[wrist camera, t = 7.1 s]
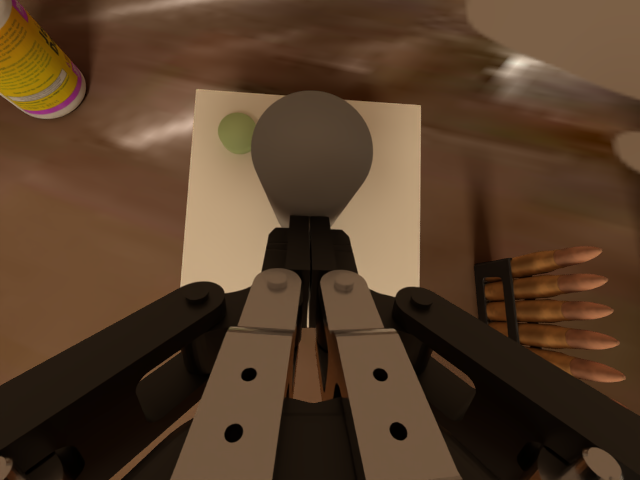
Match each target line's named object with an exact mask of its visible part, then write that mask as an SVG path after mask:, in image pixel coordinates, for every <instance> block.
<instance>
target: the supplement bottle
mask: <svg viewBox="0 0 640 480" xmlns="http://www.w3.org/2000/svg"><path fill="white" fill-rule="evenodd" d="M85 92H86V82H85V79H84V76H83V75H82V73H81V71H80V70H79V69H78V68H77V67H76V66H75V64H74V63H73V62H72V61H71V60H70V59H69V58H68V57H67V55H66V54H65V53H64V52H63V51H62V50H61V49H60V48H59V47H58V45H57V44H56V43H55V42H54V41H53V40H52V39H51V38H50V37H49V35H48V34H47V33H46V32H45V31H44V30H43V29H42V28H41V27H40V25H39V24H38V23H37V22H36V21H35V20H34V19H33V18H32V17H31V16H30V14H29V13H28V12H27V11H26V10H25V9H24V8H23V7H22V6H21V5H20V4H19V2H18V1H17V0H0V95H1V96H2V97H4V98H5V99H6V100H8V101H9V102H11V103H12V104H13V105H15V106H16V107H17V108H19V109H20V110H22V111H23V112H25V113H26V114H28V115H30V116H33V117H36V118H43V119H52V118H58V117H61V116H64V115H66V114H68V113H70V112H71V111H73V110H74V109H75V108H77V107H78V105H79V104H80V103H81V101H82V100H83V98H84V96H85Z"/></svg>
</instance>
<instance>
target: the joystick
mask: <svg viewBox="0 0 640 480" xmlns="http://www.w3.org/2000/svg"><path fill="white" fill-rule="evenodd" d="M420 158H421V105H408V104H395V103H381V102H367V101H353V100H343V99H341V98H339V97H337V96H335V95H332V94H330V93H326V92H321V91H300V92H296V93H292V94H289V95H286V96H284V95H270V94H257V93H243V92H229V91H215V90H201V89H196V99H195V111H194V123H193V136H192V148H191V161H190V173H189V186H188V198H187V210H186V223H185V235H184V248H183V260H182V273H181V285H180V287H182V286H185V285H187V284H190V283H193V282H199V281H208V282H213V283H216V284H218V285H220V286H221V287H222V288H223V290H224V292H225V293H230V292H235V291H239V290H243V289H246V288H248V287H250V286H252V283H253V280H254V278H255V277H256V276H257V275H258V274H259V273H261V271H262V266H263V261H264V256H265V251H266V246H267V241H268V235H269V233H270V232H271V231H272V230H273V229H274V228H276V227H281V228H289V221H290V215H296V216H309V225H310V216H324V217H329V220H330V227H331V229H340V230H343V231H344V232H345V233H346V234H347V235H348V236H349V238H350V242H351V246H352V250H353V254H354V258H355V263H356V267H357V271H358V274H359V275H360V276H362V277H363V278H364V279H365V281H366V283H367V285H368V288H369V289H371V290H373V291H375V292H378V293H381V294H385V295H389V296H393V297H395V296H396V294H397V292H398V291H399V290H400V289H402V288H405V287H419V281H420ZM307 327H309V310H308V316H307Z"/></svg>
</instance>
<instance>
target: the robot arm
mask: <svg viewBox="0 0 640 480" xmlns="http://www.w3.org/2000/svg"><path fill="white" fill-rule="evenodd" d="M308 310H309V328H316V342H315V352H316V359H317V367H318V375H319V383H320V390H321V398H322V402H318V403H308V402H304V401H300V400H296V399H293V394H294V385H295V376H296V367H297V358H298V349H299V342H300V340H301V330H302V328H307V316H308ZM180 349H181V353H179V354H178V355H176V356H175V357H174V358H172V359H171V360H169V361H168V362H167V363H165V364H164V365H162V366H161V367H159V368H158V369H157V370H155V371H154V372H152V373H151V374H150V375H148V376H147V377H145V378H144V379H143V380H141V379H142V377H143V376H144V375H145V374H146V373H148V372H149V371H150V370H152V369H153V368H155V367H156V366H158V365H159V364H160V363H162V362H163V361H165V360H166V359H168V358H169V357H170V356H172V355H173V354H175V353H176V352H178V351H179V350H180ZM433 350H434V351H435V352H436V353H438V354H439V355H440V356H442V357H443V358H444V359H446V360H447V361H449V362H450V363H451V364H453V365H454V366H455V367H457V368H458V369H459V370H461V371H462V372H464V373H465V374H466V375H467V376H468V377H469V378H470V379H471V380H472V381H473V383H474V385H475V388H476V389H474V388H472V387H471V386H469V385H468V384H467V383H466V382H464V381H463V380H462V379H460V378H459V377H458V376H456V375H455V374H454V373H452V372H451V371H450V370H448V369H447V368H446V367H444V366H443V365H442V364H440V363H439V362H438V361H436V360H435V359H434V358H432V357H431V353H432V351H433ZM140 380H141V381H140ZM139 381H140V382H139ZM200 399H201V401H200V403H199V406H198V408H197V411H196V414H195V416H194V418H192V419H191V420H189V421H188V422H186V423H184V424H183V425H181V426H180V427H178V428H177V429H176V430H175V431H173V432H172V433H171V434H169V435H168V436H167V437H166V438H165V439H164V440H163V441H162V442H161V443H159V444H158V445H157V446H156V447H155V448H154V449H153V450H152V451H151V452H150V453H149V454H148V455H147V456H146V457H145V458H143V459H142V460H141V461H140V462H139V463H138V464H137V465H136V466H135V467H134V468H133V469H132V470H131V471H130V472H129V473H128V474H126V475H125V476H124V477H123V478H122V479H121V480H640V416H639V415H637V414H635V413H634V412H632V411H630V410H629V409H627V408H625V407H624V406H622V405H620V404H619V403H617V402H615V401H614V400H612V399H610V398H609V397H607V396H605V395H604V394H602V393H600V392H599V391H597V390H595V389H594V388H592V387H590V386H589V385H587V384H585V383H584V382H582V381H580V380H579V379H577V378H575V377H574V376H572V375H570V374H569V373H567V372H565V371H564V370H562V369H560V368H559V367H557V366H555V365H554V364H552V363H550V362H549V361H547V360H545V359H544V358H542V357H540V356H539V355H537V354H535V353H534V352H532V351H530V350H529V349H527V348H525V347H524V346H522V345H520V344H519V343H517V342H515V341H514V340H512V339H510V338H509V337H507V336H505V335H504V334H502V333H500V332H499V331H497V330H495V329H494V328H492V327H490V326H489V325H487V324H485V323H484V322H482V321H480V320H479V319H477V318H475V317H474V316H472V315H470V314H469V313H467V312H465V311H464V310H462V309H460V308H459V307H457V306H455V305H454V304H452V303H450V302H449V301H447V300H445V299H444V298H442V297H440V296H439V295H437V294H435V293H434V292H432V291H430V290H427V289H424V288H421V287H405V288H402V289H400V290H399V291H398V292H397V294H396V296H395V297H393V296H389V295H385V294H381V293H378V292H375V291H373V290H371V289H369V288H368V285H367V283H366V281H365V279H364V278H363V277H362V276H360V275H359V274H358V271H357V267H356V263H355V258H354V254H353V250H352V246H351V242H350V238H349V236H348V235H347V234H346V233H345V232H344V231H343V230H340V229H331V227H330V220H329V217H324V216H310V225H309V216H296V215H290V221H289V228H281V227H276V228H274V229H273V230H272V231H271V232H270V233H269V235H268V241H267V246H266V251H265V256H264V261H263V266H262V271H261V273H259V274H258V275H257V276H256V277H255V278H254V280H253V283H252V286H250V287H248V288H246V289H243V290H239V291H235V292H230V293H225V292H224V290H223V288H222V287H221V286H220V285H218V284H216V283H213V282H208V281H199V282H193V283H190V284H187V285H185V286H182V287H180V288H179V289H177V290H175V291H173V292H171V293H169V294H168V295H166V296H164V297H162V298H160V299H158V300H157V301H155V302H153V303H151V304H149V305H147V306H146V307H144V308H142V309H140V310H138V311H136V312H135V313H133V314H131V315H129V316H127V317H125V318H124V319H122V320H120V321H118V322H116V323H114V324H113V325H111V326H109V327H107V328H105V329H103V330H102V331H100V332H98V333H96V334H94V335H92V336H91V337H89V338H87V339H85V340H83V341H81V342H80V343H78V344H76V345H74V346H72V347H70V348H69V349H67V350H65V351H63V352H61V353H59V354H57V355H56V356H54V357H52V358H50V359H48V360H46V361H45V362H43V363H41V364H39V365H37V366H35V367H34V368H32V369H30V370H28V371H26V372H24V373H23V374H21V375H19V376H17V377H15V378H13V379H12V380H10V381H8V382H6V383H4V384H2V385H1V386H0V480H109V479H110V478H111V477H112V476H114V475H115V474H116V473H117V472H118V471H119V470H120V469H122V468H123V467H124V466H125V465H126V464H127V463H128V462H130V461H131V460H132V459H133V458H134V457H135V456H136V455H138V454H139V453H140V452H141V451H142V450H143V449H144V448H146V447H147V446H148V445H149V444H150V443H151V442H152V441H154V440H155V439H156V438H157V437H158V436H159V435H160V434H162V433H163V432H164V431H165V430H166V429H167V428H168V427H170V426H171V425H172V424H173V423H174V422H175V421H176V420H178V419H179V418H180V417H181V416H182V415H183V414H184V413H186V412H187V411H188V410H189V409H190V408H191V407H192V406H194V405H195V404H196V403H197V402H198V401H199V400H200Z"/></svg>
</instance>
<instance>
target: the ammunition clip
mask: <svg viewBox="0 0 640 480" xmlns="http://www.w3.org/2000/svg"><path fill="white" fill-rule="evenodd" d="M601 252H602V249H601V248H598V247H592V246H579V247H570V248H565V249H558V250H553V251H540V252H535V253H531V254H527V255H523V256H519V257H515V258H506V259H501V260H495V261H490V262H484V263H479V264H475V266H474V271H475V283H476V294H477V305H478V317H479V320H480V321H482V322H484V323H485V324H487V325H489V326H490V327H492V328H494V329H495V330H497V331H499V332H500V333H502V334H504V335H505V336H507V337H509V338H510V339H512V340H514V341H515V342H517V343H519V344H521V345H528V346H530V347H525V348H527V349H529V350H530V351H532V352H534V353H535V354H537V355H539V356H540V357H542V358H544V359H545V360H547V361H549V362H550V363H552V364H554V365H555V366H557V367H559V368H560V369H562V370H564V371H565V372H567V373H569V374H570V375H572V376H574V377H575V378H578V379H585V380H590V381H597V382H617V381H622V380H625V379H626V376H625V375H624V374H622V373H621V372H619V371H617V370H616V369H613V368H611V367H609V366H606V365H604V364H601V363H597V362H594V361H590V360H584V359H580V358H576V357H571V356H568V355H566V354H563V353H560V352H555V351H549V350H543V349H542V347H544V348H551V349H563V348H570V349H586V350H598V349H606V348H612V347H615V346H617V345H619V341H618V340H616V339H614V338H613V337H610V336H608V335H605V334H602V333H598V332H593V331H588V330H580V329H573V328H564V327H561V326H557V325H551V324H538V322H541V323H555V322H560V321H572V320H590V319H596V318H601V317H604V316H607V315H609V314H611V313H613V311H614V310H613V309H612V308H610V307H608V306H605V305H602V304H597V303H592V302H582V301H557V300H551V299H543V300H535V298H548V297H554V296H557V295H560V294H567V293H573V292H581V291H586V290H590V289H594V288H596V287H599V286H601V285H603V284H605V283H606V282H607V281H608V279H607V278H606V277H603V276H599V275H593V274H569V275H540V276H533V277H532V275H537V274H543V273H549V272H552V271H554V270H556V269H559V268H564V267H567V266H571V265H576V264H580V263H583V262H586V261H588V260H590V259H592V258H594V257H596V256H598V255H599V254H600V253H601ZM514 278H520V279H514ZM512 279H513V280H512ZM520 299H525V300H522V301H515V300H520ZM506 321H507V322H506ZM517 322H527V323H517ZM610 399H611V398H610ZM612 400H613V399H612ZM614 401H615V400H614ZM615 402H617V401H615ZM617 403H619V402H617ZM619 404H620V403H619ZM620 405H622V404H620ZM622 406H624V405H622ZM624 407H625V406H624ZM625 408H627V407H625ZM627 409H628V408H627Z"/></svg>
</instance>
